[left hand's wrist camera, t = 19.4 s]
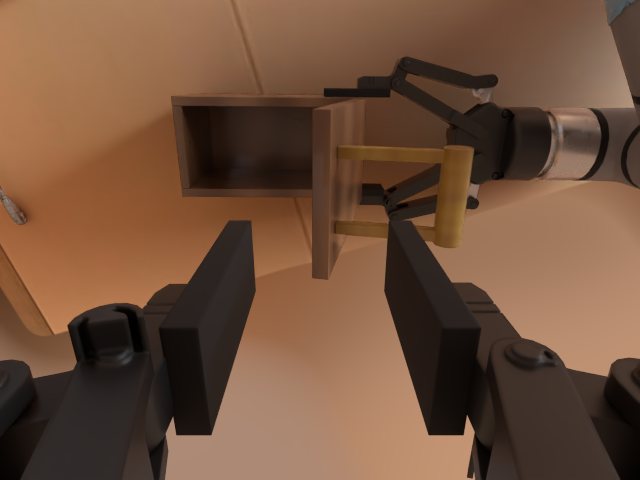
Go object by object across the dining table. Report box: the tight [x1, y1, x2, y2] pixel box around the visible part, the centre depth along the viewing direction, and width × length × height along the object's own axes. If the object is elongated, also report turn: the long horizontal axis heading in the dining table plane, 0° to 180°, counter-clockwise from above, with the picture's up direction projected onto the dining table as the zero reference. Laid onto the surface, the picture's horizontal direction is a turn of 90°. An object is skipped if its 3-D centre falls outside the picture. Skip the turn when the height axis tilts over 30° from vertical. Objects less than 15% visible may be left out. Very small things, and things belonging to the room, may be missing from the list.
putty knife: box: [0, 187, 27, 225], centre depth 51 cm, size 1×8×2 cm, turn 24°
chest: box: [171, 94, 358, 197], centre depth 44 cm, size 17×9×11 cm, turn 89°
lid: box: [312, 98, 474, 280], centre depth 29 cm, size 18×9×8 cm
